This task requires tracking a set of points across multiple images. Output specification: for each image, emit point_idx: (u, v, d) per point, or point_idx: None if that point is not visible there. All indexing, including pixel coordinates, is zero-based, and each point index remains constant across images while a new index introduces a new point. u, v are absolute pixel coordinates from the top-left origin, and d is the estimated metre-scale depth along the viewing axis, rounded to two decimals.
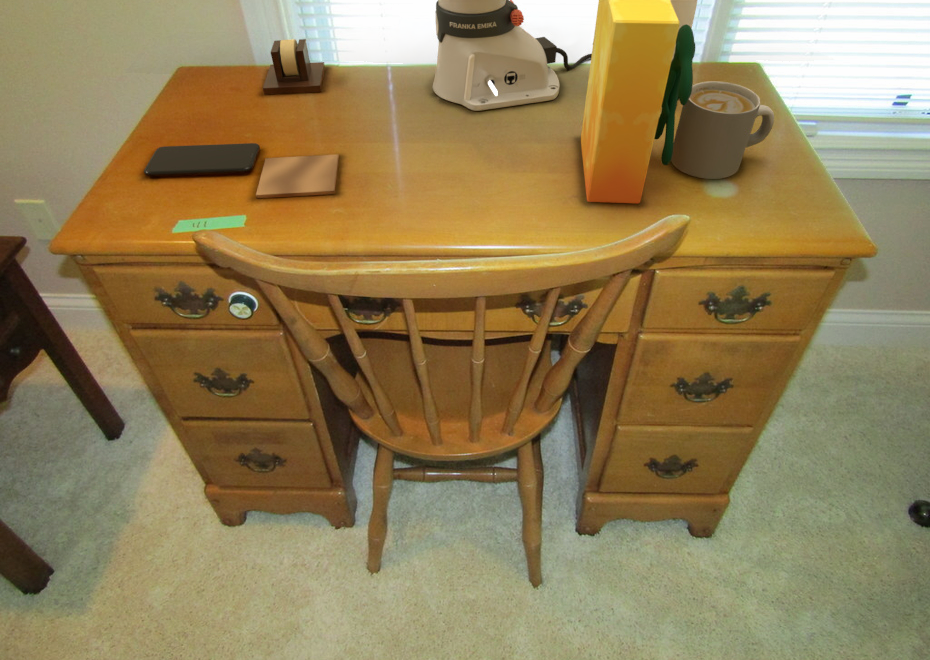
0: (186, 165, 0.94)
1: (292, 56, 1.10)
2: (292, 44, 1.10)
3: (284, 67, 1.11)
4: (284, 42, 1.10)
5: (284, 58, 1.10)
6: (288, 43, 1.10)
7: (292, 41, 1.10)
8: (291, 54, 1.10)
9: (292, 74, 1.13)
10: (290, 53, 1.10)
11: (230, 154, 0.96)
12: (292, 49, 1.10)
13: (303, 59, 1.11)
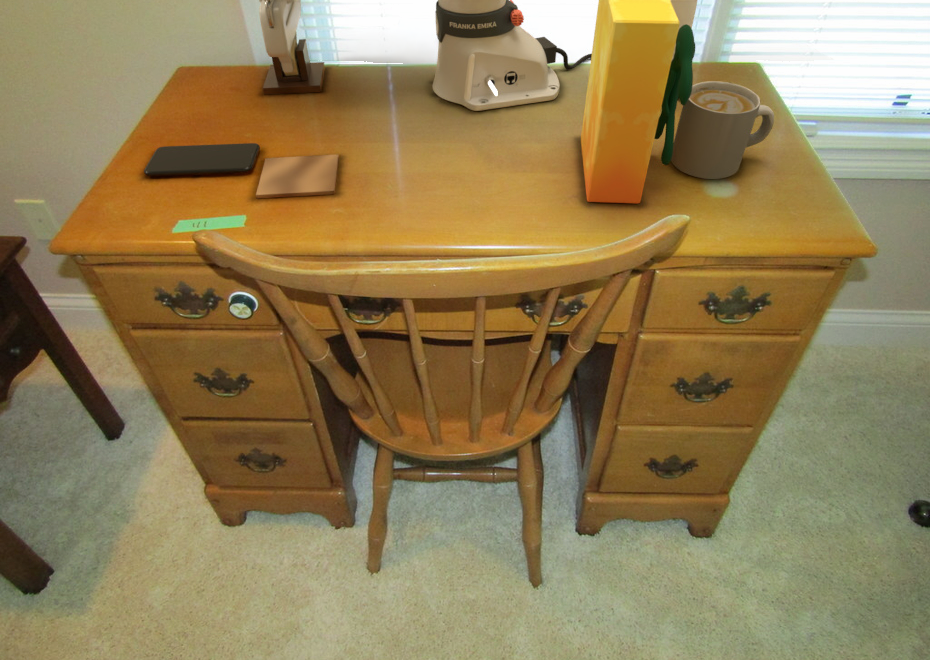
0: (186, 165, 0.94)
1: (292, 56, 1.10)
2: (292, 44, 1.10)
3: None
4: None
5: None
6: None
7: None
8: None
9: (292, 75, 1.13)
10: (290, 53, 1.10)
11: (230, 154, 0.96)
12: (292, 49, 1.10)
13: (303, 59, 1.11)
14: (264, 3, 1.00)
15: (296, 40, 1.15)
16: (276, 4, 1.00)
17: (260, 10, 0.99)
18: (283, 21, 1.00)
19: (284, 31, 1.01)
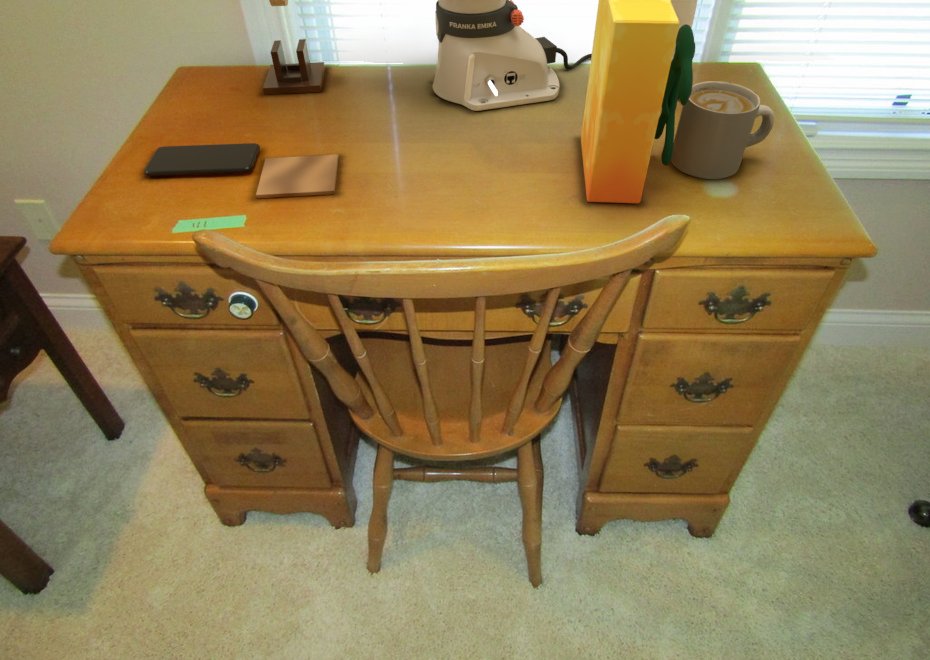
0: (186, 165, 0.94)
1: None
2: None
3: None
4: None
5: None
6: None
7: None
8: None
9: (278, 3, 1.04)
10: None
11: (230, 154, 0.96)
12: None
13: (303, 59, 1.11)
14: None
15: None
16: None
17: None
18: None
19: None
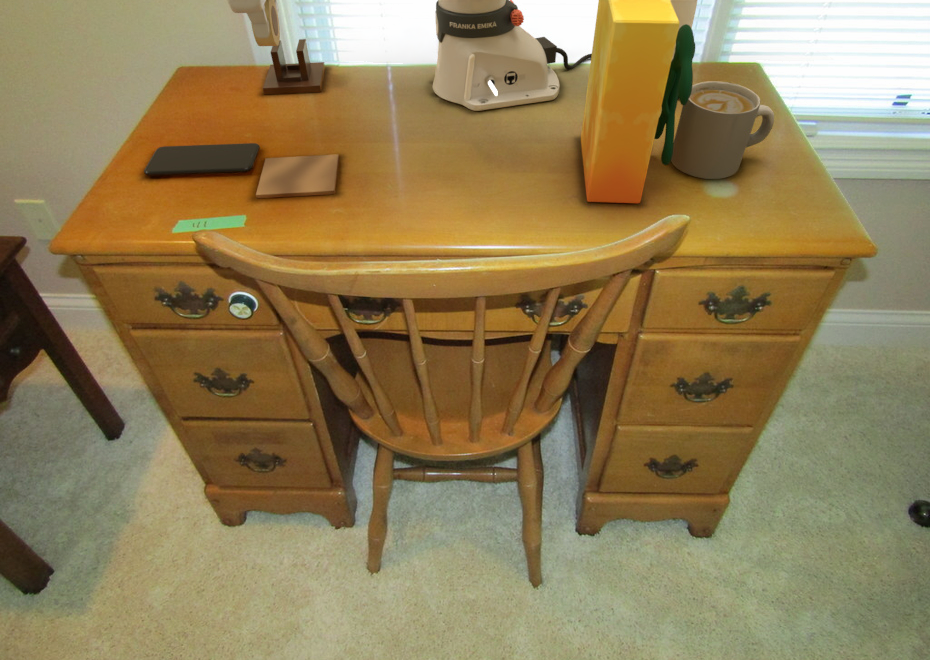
0: (186, 165, 0.94)
1: (267, 17, 0.80)
2: (267, 1, 0.80)
3: None
4: None
5: None
6: None
7: None
8: None
9: (266, 44, 0.83)
10: None
11: (230, 154, 0.96)
12: (267, 8, 0.80)
13: (303, 59, 1.11)
14: None
15: None
16: None
17: None
18: None
19: None
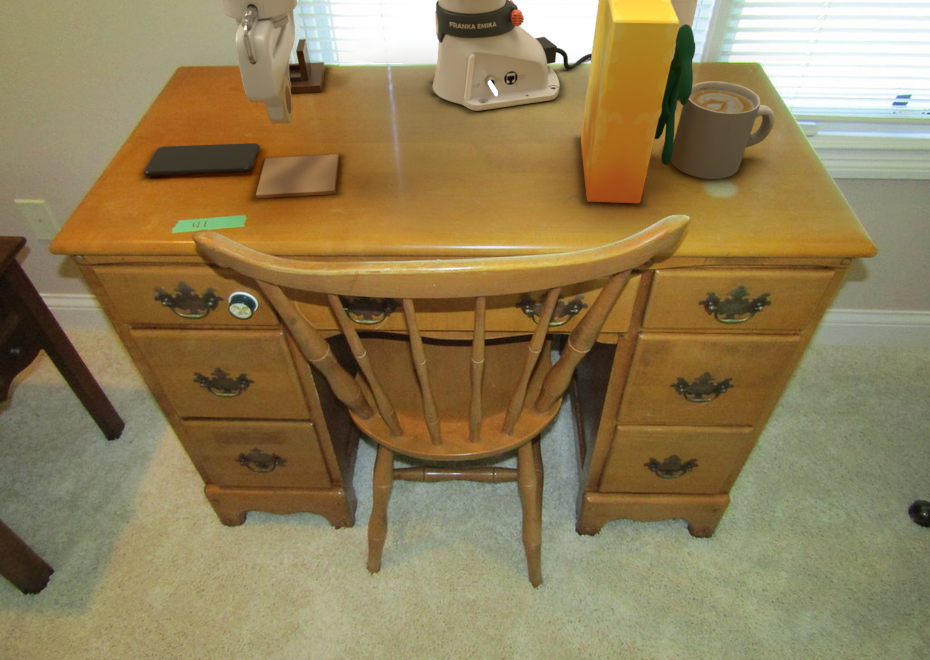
0: (186, 165, 0.94)
1: (281, 98, 0.82)
2: None
3: None
4: None
5: None
6: None
7: None
8: None
9: (280, 122, 0.84)
10: None
11: (230, 154, 0.96)
12: (281, 90, 0.81)
13: (303, 59, 1.11)
14: (242, 29, 0.71)
15: (288, 74, 0.86)
16: (260, 30, 0.71)
17: (236, 39, 0.70)
18: (269, 54, 0.72)
19: (270, 68, 0.72)
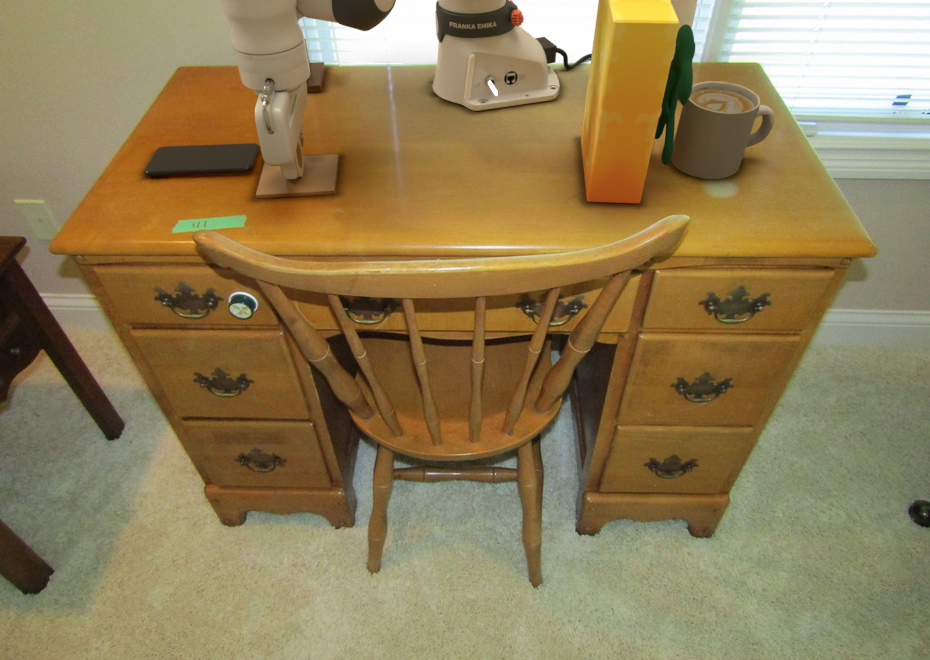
0: (186, 165, 0.94)
1: None
2: None
3: (282, 169, 0.88)
4: None
5: None
6: None
7: None
8: None
9: None
10: None
11: (230, 154, 0.96)
12: None
13: None
14: (261, 101, 0.78)
15: (302, 130, 0.93)
16: (277, 102, 0.77)
17: (256, 112, 0.76)
18: (285, 124, 0.78)
19: (287, 136, 0.78)
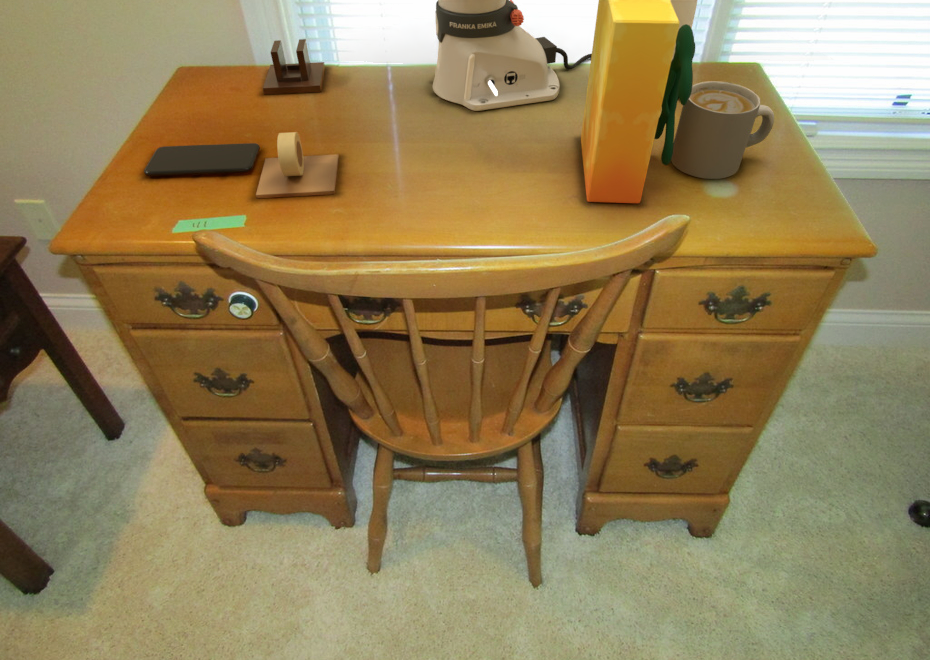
0: (186, 165, 0.94)
1: (293, 152, 0.88)
2: (292, 138, 0.88)
3: (282, 166, 0.88)
4: (282, 135, 0.88)
5: (282, 155, 0.88)
6: (288, 137, 0.88)
7: (293, 135, 0.88)
8: (290, 151, 0.88)
9: (292, 174, 0.90)
10: (290, 149, 0.88)
11: (230, 154, 0.96)
12: (292, 144, 0.88)
13: (303, 59, 1.11)
14: None
15: None
16: None
17: None
18: None
19: None
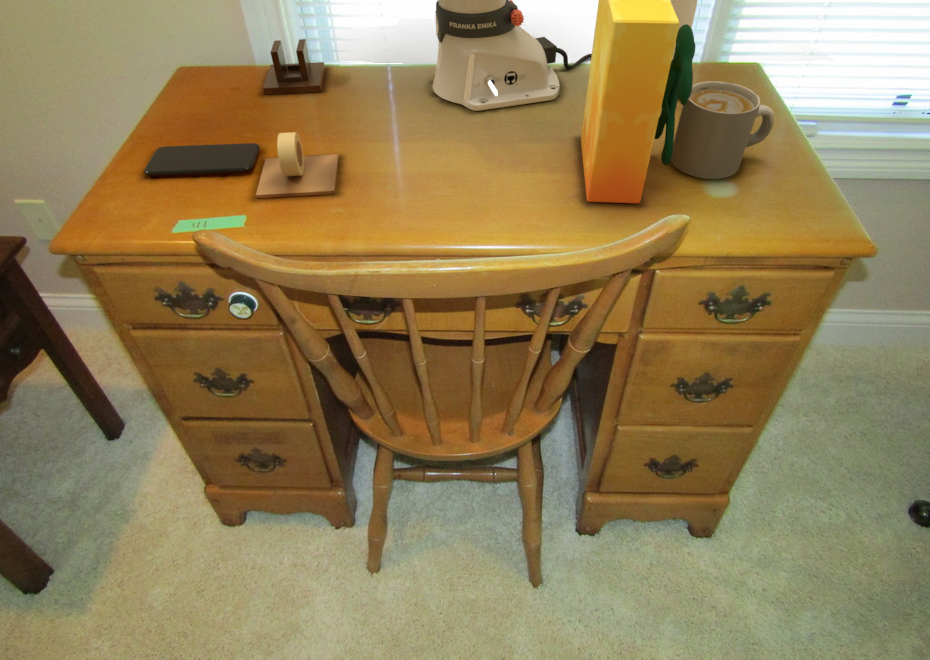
0: (186, 165, 0.94)
1: (293, 153, 0.88)
2: (292, 138, 0.88)
3: (282, 166, 0.88)
4: (282, 136, 0.88)
5: (282, 156, 0.88)
6: (288, 137, 0.88)
7: (293, 135, 0.88)
8: (290, 151, 0.88)
9: (292, 174, 0.90)
10: (290, 149, 0.88)
11: (230, 154, 0.96)
12: (292, 145, 0.88)
13: (303, 59, 1.11)
14: None
15: None
16: None
17: None
18: None
19: None
